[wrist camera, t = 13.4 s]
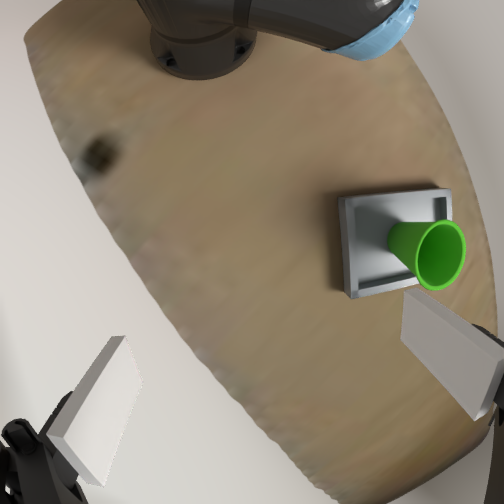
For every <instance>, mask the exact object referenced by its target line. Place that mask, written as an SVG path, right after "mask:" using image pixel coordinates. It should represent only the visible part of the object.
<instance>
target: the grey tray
mask: <svg viewBox="0 0 504 504" xmlns="http://www.w3.org/2000/svg"><path fill="white" fill-rule="evenodd" d="M337 200H338V209H339V219H340V231H341V243H342V258H343V275H344V292H345V293H346V294H347V295H348V296H349V298H350V299H355V298H359V297H364V296H368V295H373V294H377V293H382V292H386V291H390V290H394V289H398V288H403V287H407V286H411V285H415V284H418V283H419V281H418V280H417V278H416V276H415V275H414V274H413V273H412V272H411V271H410V270H409V269H408V268H407V267H406V266H405V265H404V264H403V263H402V262H401V261H400V260H399V259H398V258H397V257H396V256H395V255H394V254H393V253H392V252H391V251H390V250H389V247H388V243H387V237H388V233H389V231H390V229H391V228H392V227H393V226H394V225H395V224H397V223H400V222H436V221H437V220H442V219H447V220H451V221H452V199H451V189H449V188H429V189H417V190H405V191H394V192H384V193H374V194H364V195H355V196H346V197H337Z"/></svg>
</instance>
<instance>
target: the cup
mask: <svg viewBox="0 0 504 504" xmlns="http://www.w3.org/2000/svg"><path fill="white" fill-rule="evenodd" d="M387 243H388V247H389V250H390V251H391V252H392V253H393V254H394V255H395V256H396V257H397V258H398V259H399V260H400V261H401V262H402V263H403V264H404V265H405V266H406V267H407V268H408V269H409V270H410V271H411V272H412V273H413V274H414V275H415V276H416V278H417V280H418V281H419V283H420V284H421V285H422V286H423V287H424V288H425V289H428V290H440V289H443V288H445V287H447V286H448V285H450V284H451V283H452V282H453V281H454V280H455V279H456V277H457V276H458V274H459V273H460V271H461V269H462V266H463V263H464V260H465V253H466V244H465V239H464V235H463V233H462V231H461V229H460V228H459V227H458V225H457V224H456V223H454V222H453V221H451V220H447V219H442V220H437V221H436V222H400V223H397V224H395V225H394V226H393V227H392V228H391V229H390V231H389V233H388V237H387Z"/></svg>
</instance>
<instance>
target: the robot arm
mask: <svg viewBox="0 0 504 504" xmlns="http://www.w3.org/2000/svg"><path fill="white" fill-rule="evenodd" d="M137 2H138V4H139V5H140V7H141V8H142V10H143V12H144V13H145V15H146V17H147V18H148V20H149V22H150V23H151V25H152V28H151V37H150V44H151V49H152V52H153V54H154V56H155V58H156V59H157V61H158V62H159V64H160V65H161V66H162V67H163V68H164V69H165V70H166V71H168V72H169V73H171V74H172V75H175V76H177V77H180V78H183V79H188V80H208V79H213V78H217V77H220V76H223V75H226V74H228V73H230V72H232V71H233V70H235V69H237V68H238V67H239V66H241V65H242V64H243V63H244V62H245V61H246V60H247V59H248V57H249V56H250V54H251V53H252V51H253V49H254V46H255V42H256V36H257V31H260V32H265V33H269V34H273V35H277V36H281V37H285V38H288V39H292V40H295V41H299V42H302V43H305V44H308V45H311V46H314V47H317V48H320V49H321V50H322V51H325V52H328V53H336V54H340V55H342V56H345V57H348V58H351V59H354V60H359V61H364V60H369V59H375V58H377V57H379V56H381V55H383V54H384V53H386V52H387V51H388V50H390V49H391V48H392V47H393V46H394V45H395V44H396V43H397V42H398V41H399V40H400V39H401V38H402V37H403V35H404V34H405V33H406V31H407V30H408V28H409V27H410V25H411V23H412V22H413V20H414V15H413V13H414V12H415V11H416V10H417V9H418V5H419V0H137ZM401 341H402V342H403V343H404V344H405V345H406V346H407V347H408V348H409V349H410V350H411V351H412V352H413V354H414V355H415V356H416V357H417V358H418V359H419V360H420V361H421V362H422V363H423V364H424V365H425V366H426V367H427V368H428V370H429V371H430V372H431V373H432V374H433V375H434V376H435V377H436V378H437V379H438V380H439V382H440V383H441V384H442V385H443V386H444V387H445V388H446V389H447V390H448V392H449V393H450V394H451V395H452V396H453V397H454V398H455V399H456V401H457V402H458V403H459V404H460V405H461V406H462V407H463V409H464V410H465V411H466V412H467V413H468V414H469V415H470V417H471V418H472V419H473V420H474V421H475V420H477V419H478V418H480V417H482V416H483V415H485V414H486V413H488V411H489V409H490V407H491V405H492V402H493V401H494V402H495V403H496V404H497V407H496V409H495V411H494V414H493V416H492V418H491V420H490V422H489V425H488V426H491V424H492V422H493V420H494V419H495V423H494V440H493V451H492V460H491V467H490V474H489V480H488V485H487V491H486V495H485V500H484V504H504V342H503V341H501V340H500V339H499V338H498V339H497V337H496V336H494V335H493V334H491V333H490V332H489V331H487V330H486V329H484V328H483V327H481V326H478V325H475V324H470V323H468V322H467V321H466V320H464V319H463V318H461V317H460V316H458V315H457V314H456V313H454V312H453V311H451V310H450V309H448V308H447V307H445V306H444V305H442V304H441V303H439V302H438V301H436V300H435V299H433V298H432V297H430V296H429V295H427V294H426V293H424V292H423V291H421V290H420V289H418V288H413V289H409V290H405V291H404V303H403V318H402V330H401ZM142 385H143V380H142V377H141V375H140V372H139V370H138V367H137V365H136V362H135V360H134V357H133V355H132V352H131V349H130V347H129V344H128V341H127V338H126V336H115V337H111V338H110V340H109V341H108V342H107V344H106V345H105V347H104V348H103V350H102V351H101V352H100V354H99V355H98V357H97V358H96V359H95V361H94V362H93V364H92V365H91V366H90V368H89V369H88V371H87V372H86V374H85V375H84V377H83V378H82V379H81V381H80V383H79V384H78V385H77V387H76V388H75V390H74V391H70V392H69V393H68V394H67V395H66V396H64V397H63V398H62V399H61V401H60V402H59V403H58V405H57V408H55V410H54V411H53V412H52V415H50V417H49V418H48V420H47V422H46V423H45V425H44V426H43V428H42V429H41V431H40V432H39V434H37V433H36V432H35V430H34V429H33V428H32V426H31V425H30V423H29V422H28V421H27V420H25V419H21V418H20V419H14V420H12V421H11V422H9V423H8V424H7V425H6V426H5V427H4V428H3V430H2V434H1V436H2V437H3V438H4V440H5V441H6V442H7V444H8V445H9V446H10V447H5V446H4V445H3V443H2V442H1V441H0V504H88V502H87V500H86V497H85V495H84V493H83V491H82V489H81V486H80V485H79V484H78V482H77V481H76V479H77V477H78V475H80V476H81V477H82V478H83V480H84V481H85V482H86V483H88V484H93V485H97V486H102V487H104V485H105V482H106V479H107V476H108V473H109V471H110V468H111V465H112V462H113V460H114V457H115V454H116V451H117V449H118V446H119V443H120V441H121V438H122V435H123V433H124V430H125V427H126V424H127V422H128V420H129V417H130V414H131V412H132V410H133V407H134V405H135V402H136V400H137V397H138V395H139V392H140V390H141V387H142ZM6 485H7V486H8V487H9V488H10V494H8V493H7V492H6V491H5V486H6Z"/></svg>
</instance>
